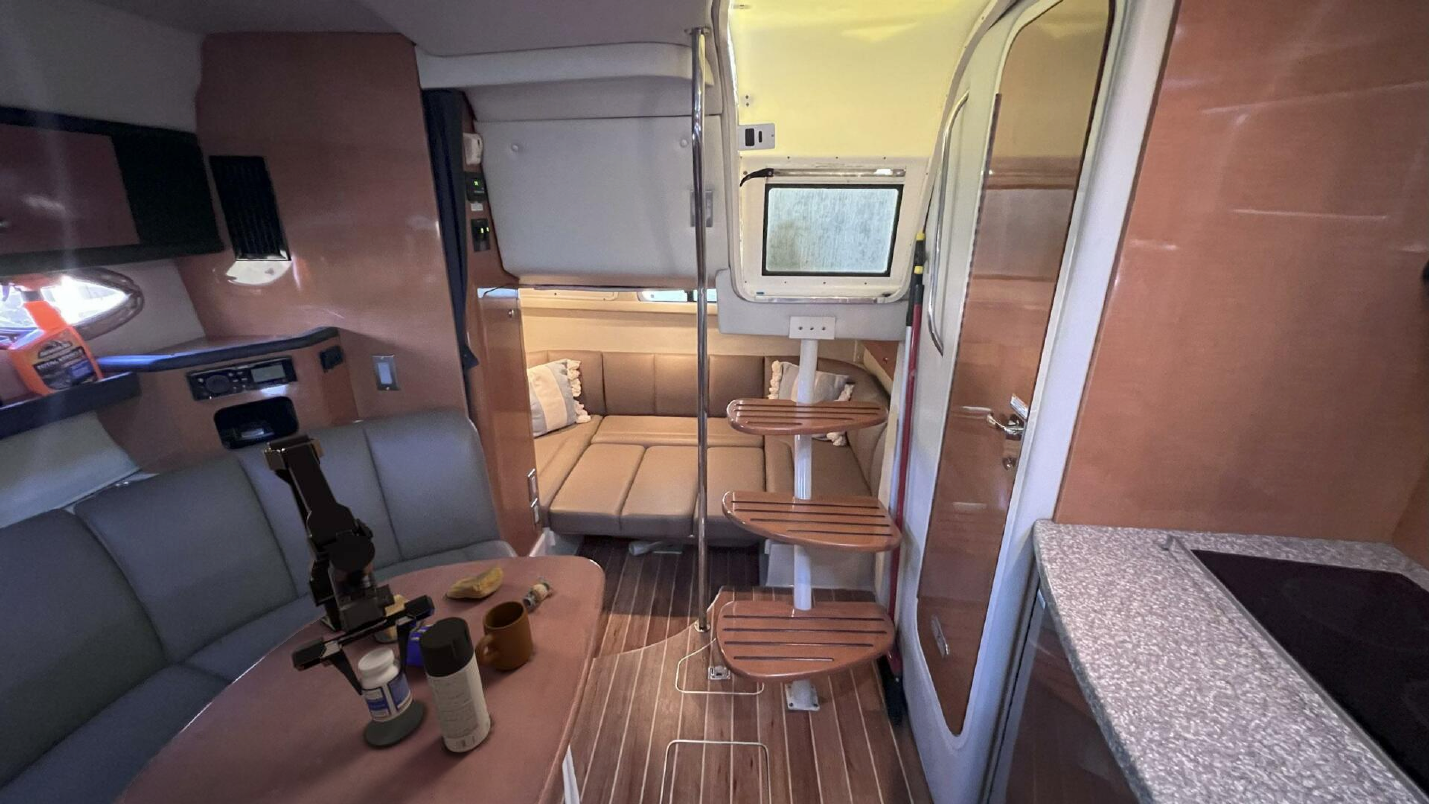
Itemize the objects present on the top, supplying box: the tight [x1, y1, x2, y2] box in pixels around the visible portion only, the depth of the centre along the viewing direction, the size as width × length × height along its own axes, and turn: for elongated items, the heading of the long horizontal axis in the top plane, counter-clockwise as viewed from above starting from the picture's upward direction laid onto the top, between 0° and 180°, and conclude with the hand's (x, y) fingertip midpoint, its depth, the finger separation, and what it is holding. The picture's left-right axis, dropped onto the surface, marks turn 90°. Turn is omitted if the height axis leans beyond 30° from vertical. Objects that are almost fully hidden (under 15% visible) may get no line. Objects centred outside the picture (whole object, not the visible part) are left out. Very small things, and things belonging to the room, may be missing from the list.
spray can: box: [419, 616, 491, 753], centre depth 80 cm, size 7×7×20 cm
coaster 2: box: [365, 700, 424, 748], centre depth 85 cm, size 8×8×1 cm
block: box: [380, 593, 410, 638], centre depth 105 cm, size 5×5×5 cm
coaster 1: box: [374, 620, 422, 644], centre depth 106 cm, size 8×8×1 cm
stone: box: [447, 564, 505, 599], centre depth 116 cm, size 9×5×10 cm
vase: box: [521, 572, 556, 611], centre depth 111 cm, size 5×5×6 cm
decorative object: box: [407, 624, 433, 667], centre depth 97 cm, size 10×6×10 cm
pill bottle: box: [357, 646, 413, 722], centre depth 83 cm, size 6×6×10 cm
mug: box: [474, 600, 534, 671], centre depth 95 cm, size 12×8×9 cm, turn 165°
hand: (383, 684), depth 81 cm, fingers closed on pill bottle, 5 cm apart
